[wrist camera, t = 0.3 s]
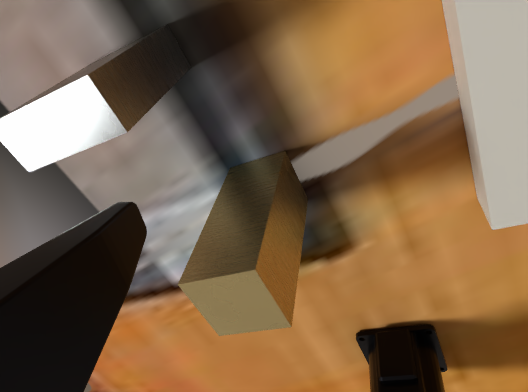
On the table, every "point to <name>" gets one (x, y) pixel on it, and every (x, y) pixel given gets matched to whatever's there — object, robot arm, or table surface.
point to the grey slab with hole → (494, 100)
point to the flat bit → (94, 101)
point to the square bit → (250, 249)
